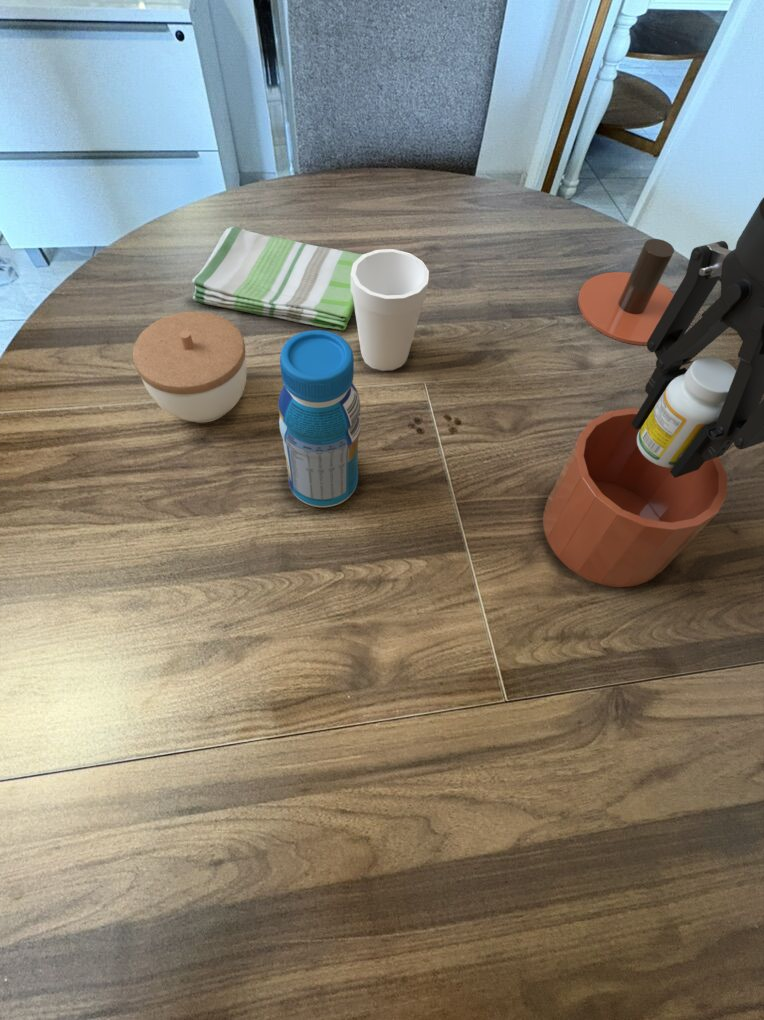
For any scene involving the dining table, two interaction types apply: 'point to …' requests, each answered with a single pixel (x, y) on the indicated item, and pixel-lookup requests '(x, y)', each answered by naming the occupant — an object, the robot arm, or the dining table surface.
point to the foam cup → (387, 304)
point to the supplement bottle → (685, 410)
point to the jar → (626, 505)
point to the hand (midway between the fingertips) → (664, 445)
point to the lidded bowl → (192, 365)
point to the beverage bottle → (319, 417)
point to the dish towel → (278, 279)
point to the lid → (629, 296)
